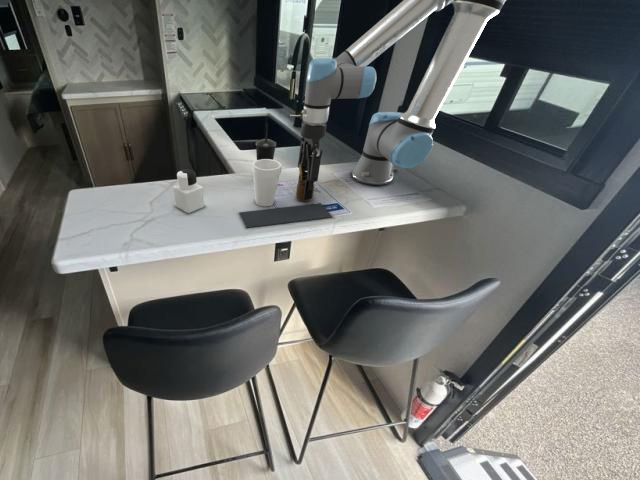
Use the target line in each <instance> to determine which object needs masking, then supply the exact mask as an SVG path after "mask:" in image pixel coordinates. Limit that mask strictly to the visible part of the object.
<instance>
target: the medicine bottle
mask: <svg viewBox="0 0 640 480" xmlns="http://www.w3.org/2000/svg"><path fill="white" fill-rule="evenodd" d="M176 178H177V179H176V180H177V184H176V185H174V186H173V187H172V190H173V195H174V196H173V197H174V203H175V207H176V208H178V209H179V210H181V211H183V212H185V213H187V214H191V213H193V212H195V211H197V210H200V209H202V208H205V197H204V187H203V186H201V185H200V184H198V181H197V172H196V171H195V170H194V169H193V170H192V169H185V168H184V169H181V170H179V171H178V172H177V173H176Z"/></svg>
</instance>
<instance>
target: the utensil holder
mask: <svg viewBox="0 0 640 480" xmlns="http://www.w3.org/2000/svg"><path fill="white" fill-rule="evenodd" d="M298 172H299V173H300V175H301V177H300V178H299V177H298V181H299V183H298V182H297V185H296V192H295V198H296V199H297V200H298V201H300V202H311V200H313V197H314V192H315V185H314V186H313V192H312V198H311V199H305V200H304V199H303V197H304V190H305V183H306V182H305V180H307V176H302V168H301V166H300V164H299V168H298Z"/></svg>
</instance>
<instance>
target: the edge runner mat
mask: <svg viewBox="0 0 640 480" xmlns="http://www.w3.org/2000/svg"><path fill="white" fill-rule="evenodd" d="M238 214H239V216H240V218H241V220H242V222H243V225H244V226H245V229H250V228H251V229H252V228H260V227H268V226H269V227H270V226H276V225H284V224H293V223H299V222H309V221H316V220H324V219H332V218H333V216H332V214H331V213H330V212H329V211H328V210H327V209H326V208H325V207H324V206H323V204H322V203H321V202H318V203H310V204H300V205H292V206H283V207H282V206H281V207H275V208H266V209H257V210H248V211H240V212H238Z"/></svg>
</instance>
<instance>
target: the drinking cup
mask: <svg viewBox="0 0 640 480" xmlns="http://www.w3.org/2000/svg"><path fill="white" fill-rule="evenodd" d="M268 130H269V124H268V123H265V135H264V138H262V139H259V140H257V141H255V151H256V153H255V154H256V161H257V160H261V159H271V160H274V156H275V152H276V147H277V142H276V141H274V140H272V139H270V138H268Z"/></svg>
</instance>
